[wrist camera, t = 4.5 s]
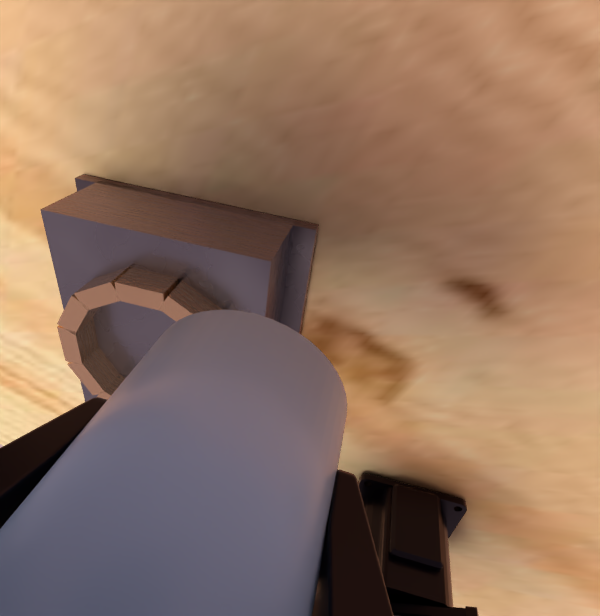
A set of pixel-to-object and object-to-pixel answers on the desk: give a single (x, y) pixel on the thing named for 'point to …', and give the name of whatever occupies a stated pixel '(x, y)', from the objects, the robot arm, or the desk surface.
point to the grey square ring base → (163, 270)
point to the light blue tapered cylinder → (189, 484)
